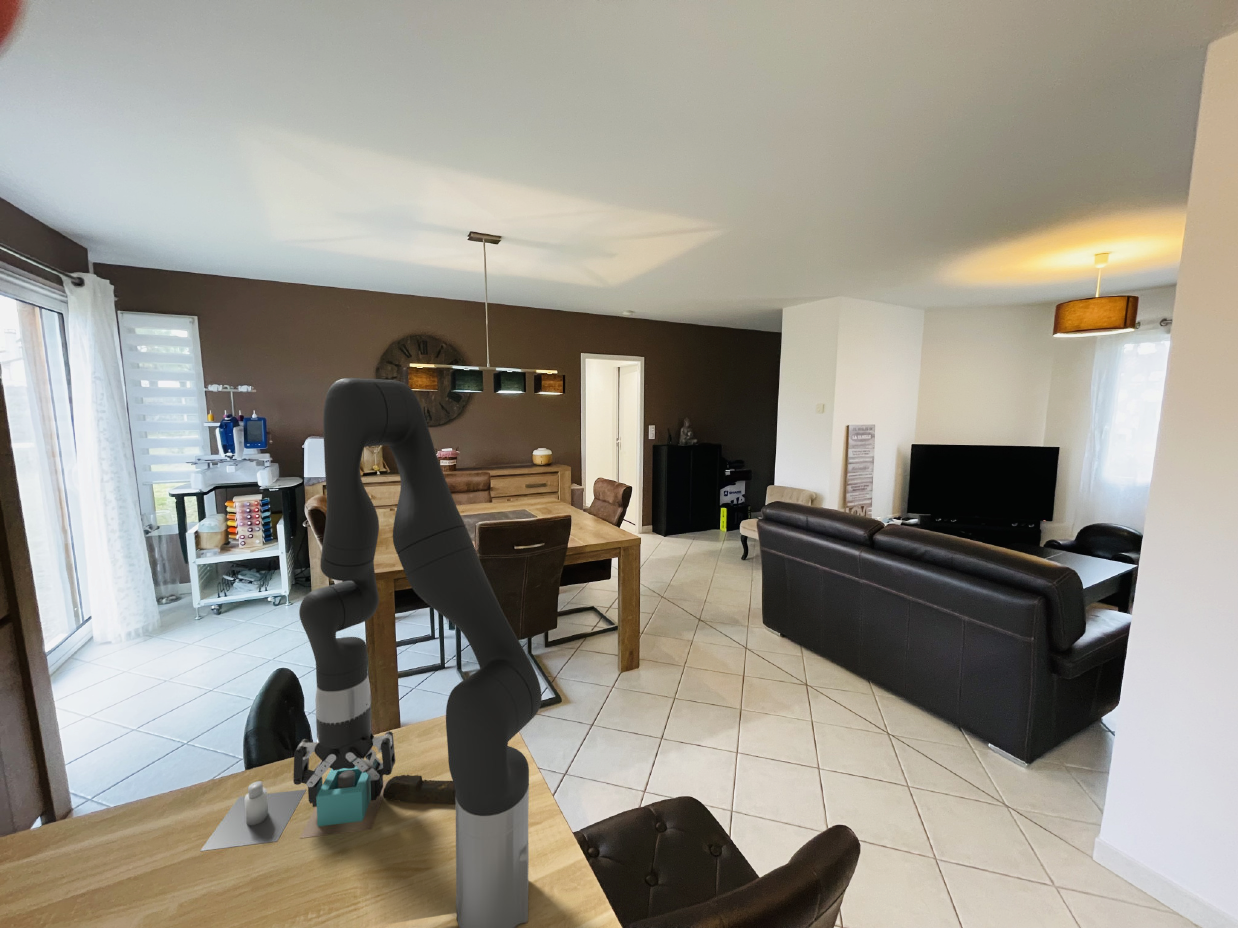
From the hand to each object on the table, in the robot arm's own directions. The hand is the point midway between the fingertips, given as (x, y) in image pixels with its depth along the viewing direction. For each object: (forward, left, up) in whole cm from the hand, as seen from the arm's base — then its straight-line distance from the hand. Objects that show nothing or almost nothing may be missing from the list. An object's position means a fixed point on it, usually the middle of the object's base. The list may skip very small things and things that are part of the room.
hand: (347, 799), depth 78 cm
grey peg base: (+13, 0, -2) cm, 13 cm away
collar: (0, 0, -1) cm, 1 cm away
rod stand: (0, 0, -2) cm, 2 cm away
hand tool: (-14, +1, -3) cm, 15 cm away
